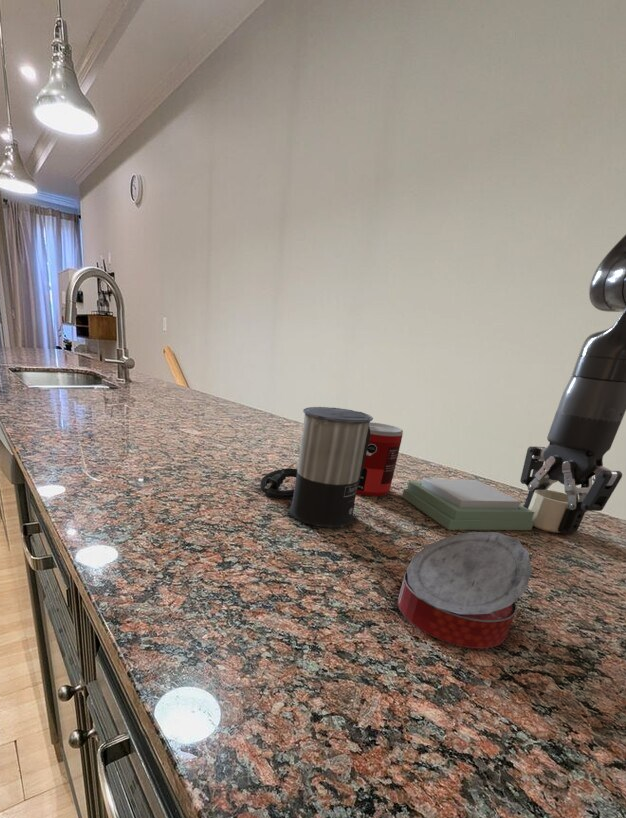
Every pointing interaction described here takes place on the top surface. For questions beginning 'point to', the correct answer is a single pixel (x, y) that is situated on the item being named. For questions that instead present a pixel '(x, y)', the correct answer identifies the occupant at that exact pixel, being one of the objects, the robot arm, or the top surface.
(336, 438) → the milk frother
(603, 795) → the top surface
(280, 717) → the top surface
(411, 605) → the canned food
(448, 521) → the scale
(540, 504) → the beige short cylinder
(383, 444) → the canned food
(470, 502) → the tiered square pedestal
